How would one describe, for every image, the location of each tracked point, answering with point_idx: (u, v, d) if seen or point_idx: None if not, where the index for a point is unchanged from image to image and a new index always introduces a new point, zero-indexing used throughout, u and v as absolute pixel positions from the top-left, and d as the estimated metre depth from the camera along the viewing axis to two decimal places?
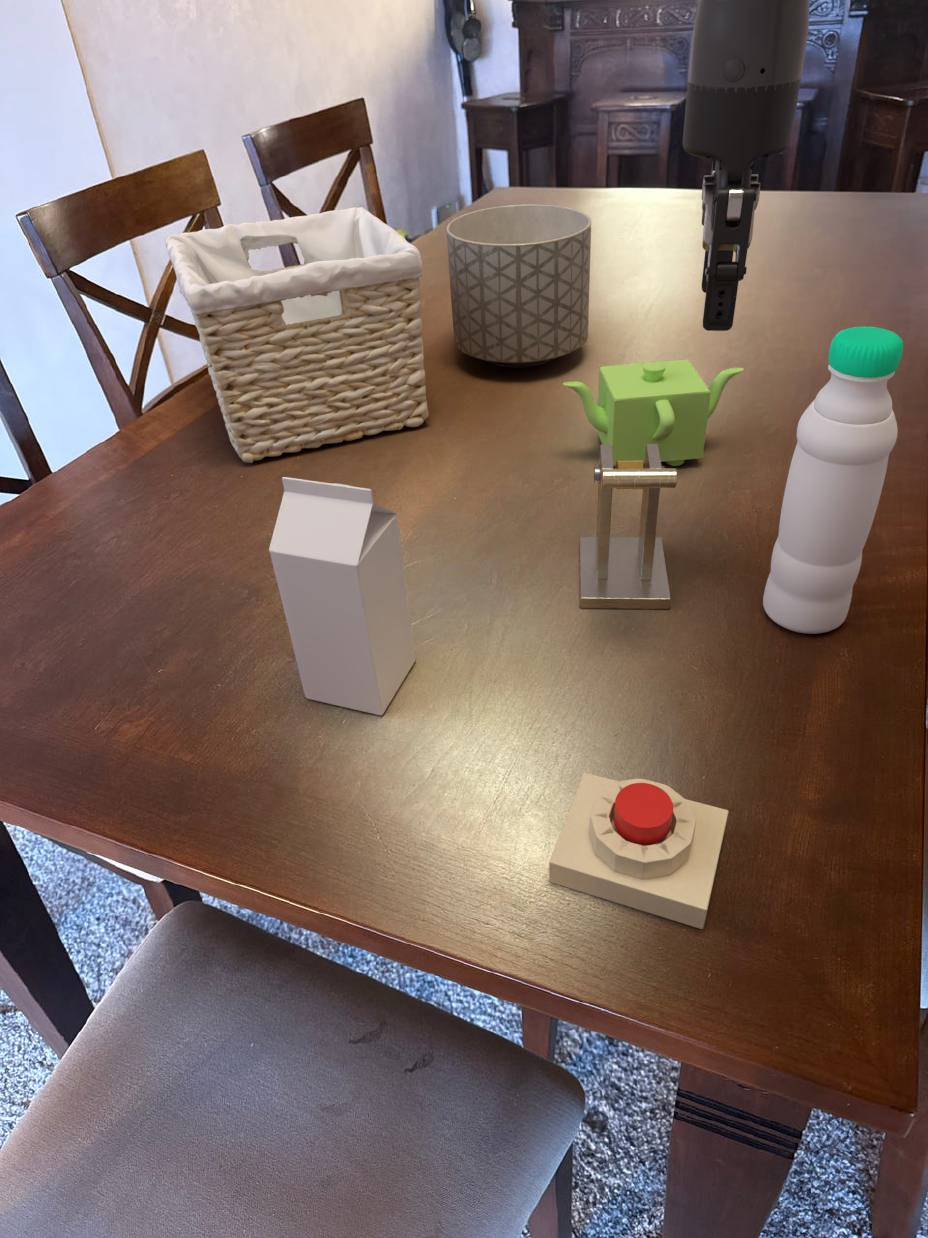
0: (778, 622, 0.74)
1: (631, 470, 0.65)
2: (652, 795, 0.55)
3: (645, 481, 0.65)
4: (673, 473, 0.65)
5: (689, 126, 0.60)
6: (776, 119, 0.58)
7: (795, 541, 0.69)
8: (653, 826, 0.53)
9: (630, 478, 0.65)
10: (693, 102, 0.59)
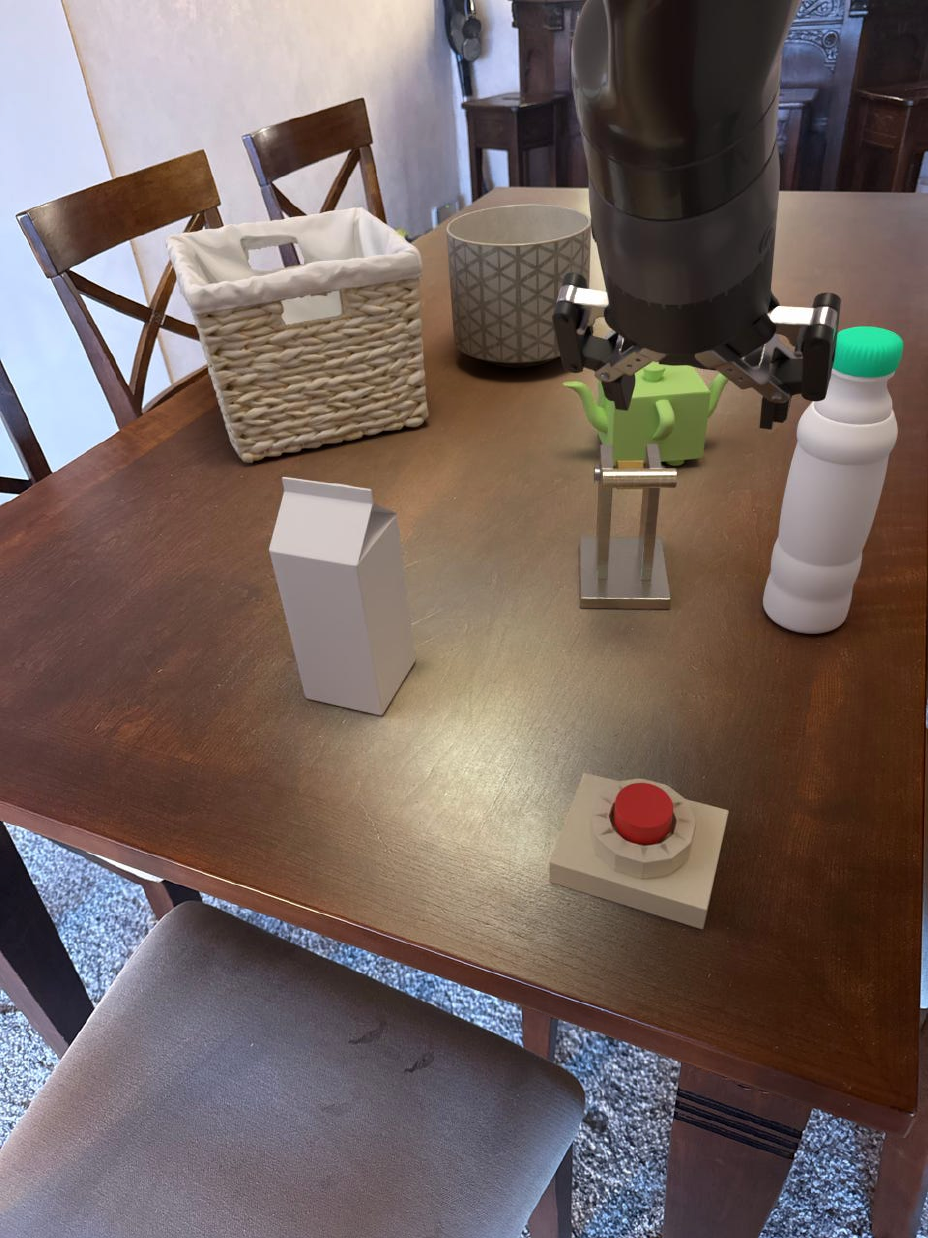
0: (778, 622, 0.74)
1: (631, 470, 0.65)
2: (652, 795, 0.55)
3: (645, 481, 0.65)
4: (673, 473, 0.65)
5: (705, 334, 0.38)
6: None
7: (795, 541, 0.69)
8: (653, 826, 0.53)
9: (630, 478, 0.65)
10: (710, 313, 0.37)
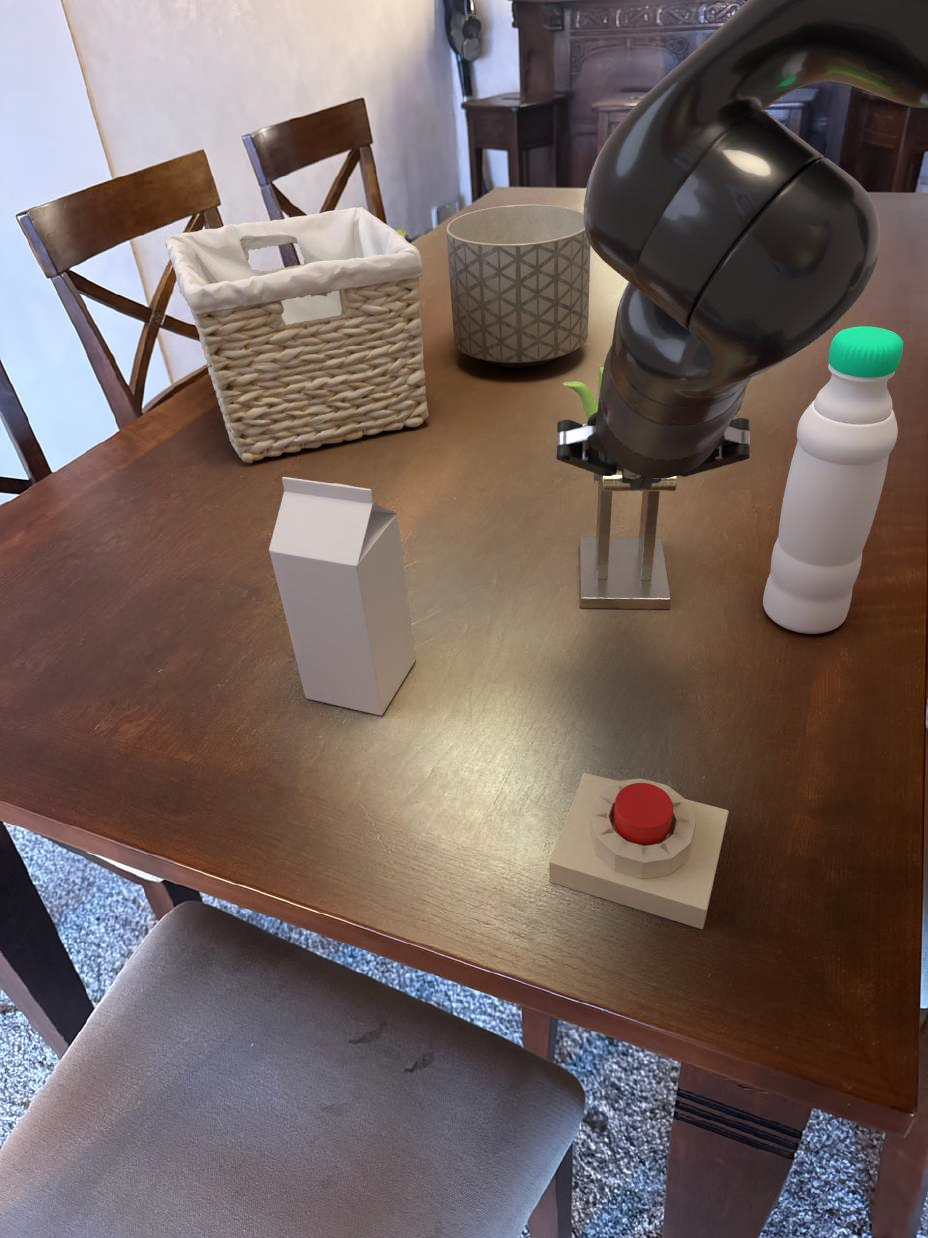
0: (778, 622, 0.74)
1: None
2: (652, 795, 0.55)
3: None
4: None
5: (691, 466, 0.50)
6: None
7: (795, 541, 0.69)
8: (653, 826, 0.53)
9: None
10: (698, 456, 0.49)
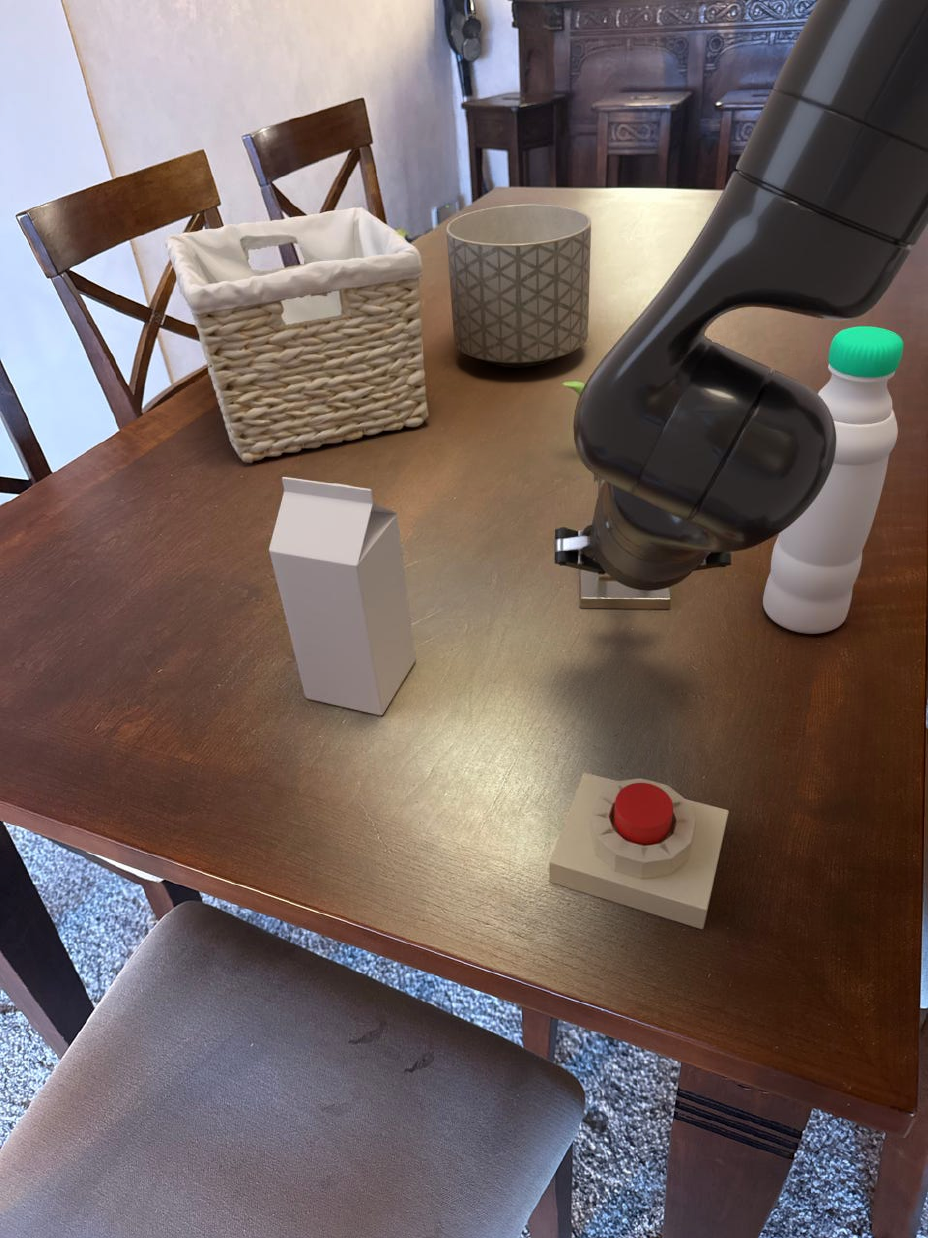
0: (778, 622, 0.74)
1: None
2: (652, 795, 0.55)
3: None
4: None
5: (676, 582, 0.55)
6: None
7: (795, 541, 0.69)
8: (653, 826, 0.53)
9: None
10: (683, 577, 0.54)
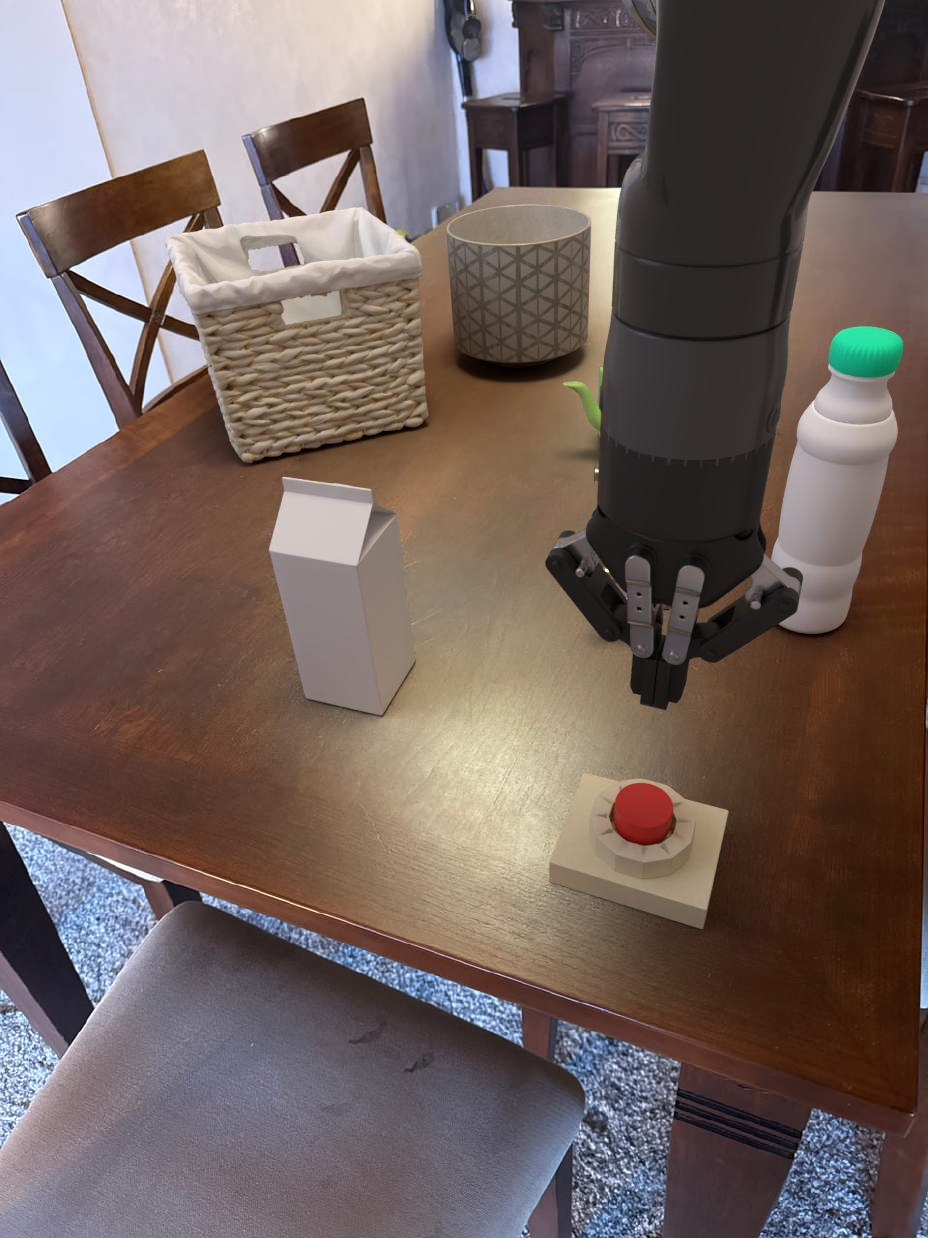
0: None
1: None
2: (652, 795, 0.55)
3: None
4: None
5: (704, 513, 0.36)
6: None
7: (795, 541, 0.69)
8: (653, 826, 0.53)
9: None
10: (713, 482, 0.36)
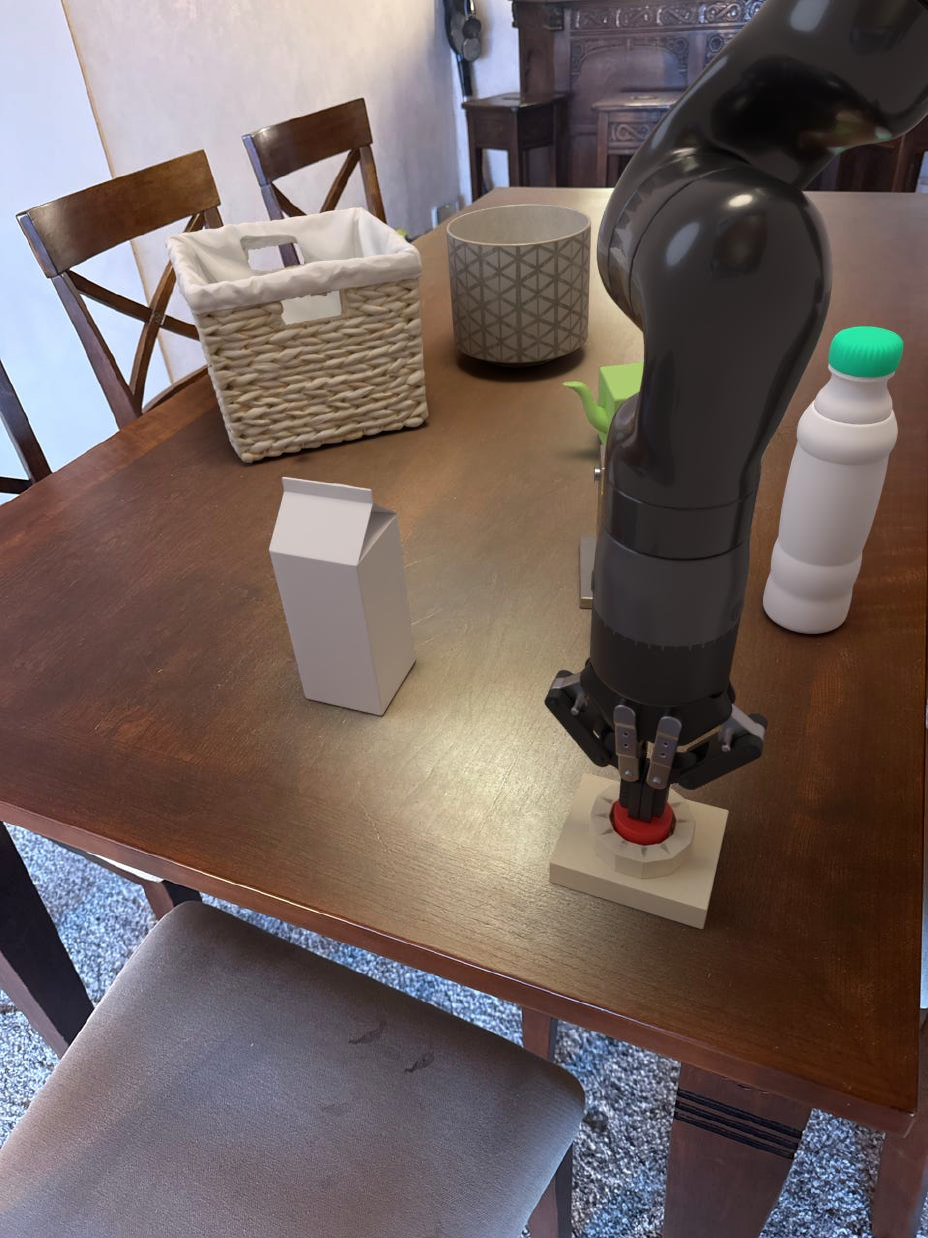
0: (778, 622, 0.74)
1: None
2: None
3: None
4: None
5: (679, 685, 0.43)
6: None
7: (795, 541, 0.69)
8: (652, 832, 0.54)
9: None
10: (687, 662, 0.42)
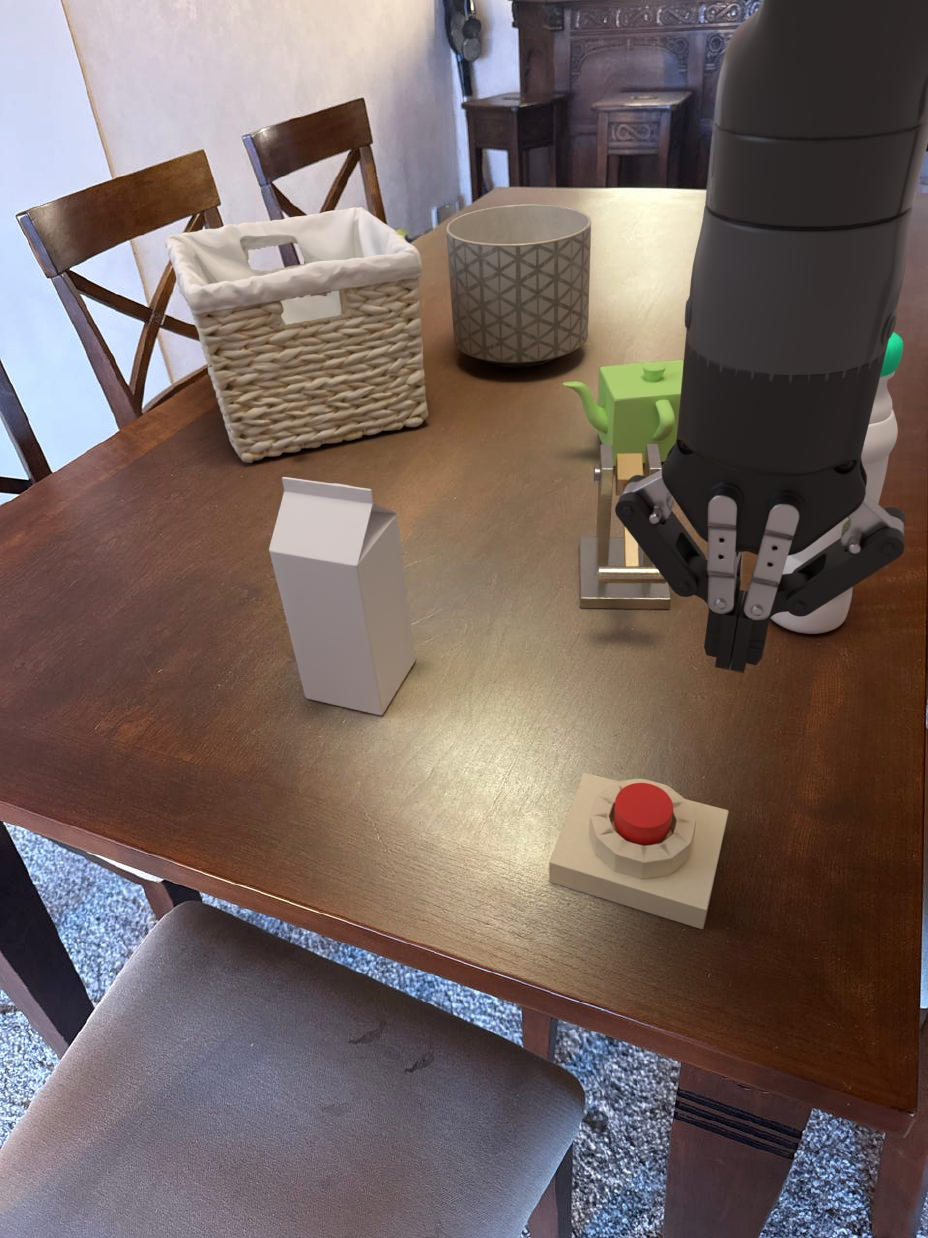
0: (778, 622, 0.74)
1: (625, 575, 0.70)
2: (652, 795, 0.55)
3: (637, 582, 0.71)
4: (663, 578, 0.70)
5: (808, 438, 0.33)
6: None
7: None
8: (653, 826, 0.53)
9: (623, 581, 0.71)
10: (821, 401, 0.32)
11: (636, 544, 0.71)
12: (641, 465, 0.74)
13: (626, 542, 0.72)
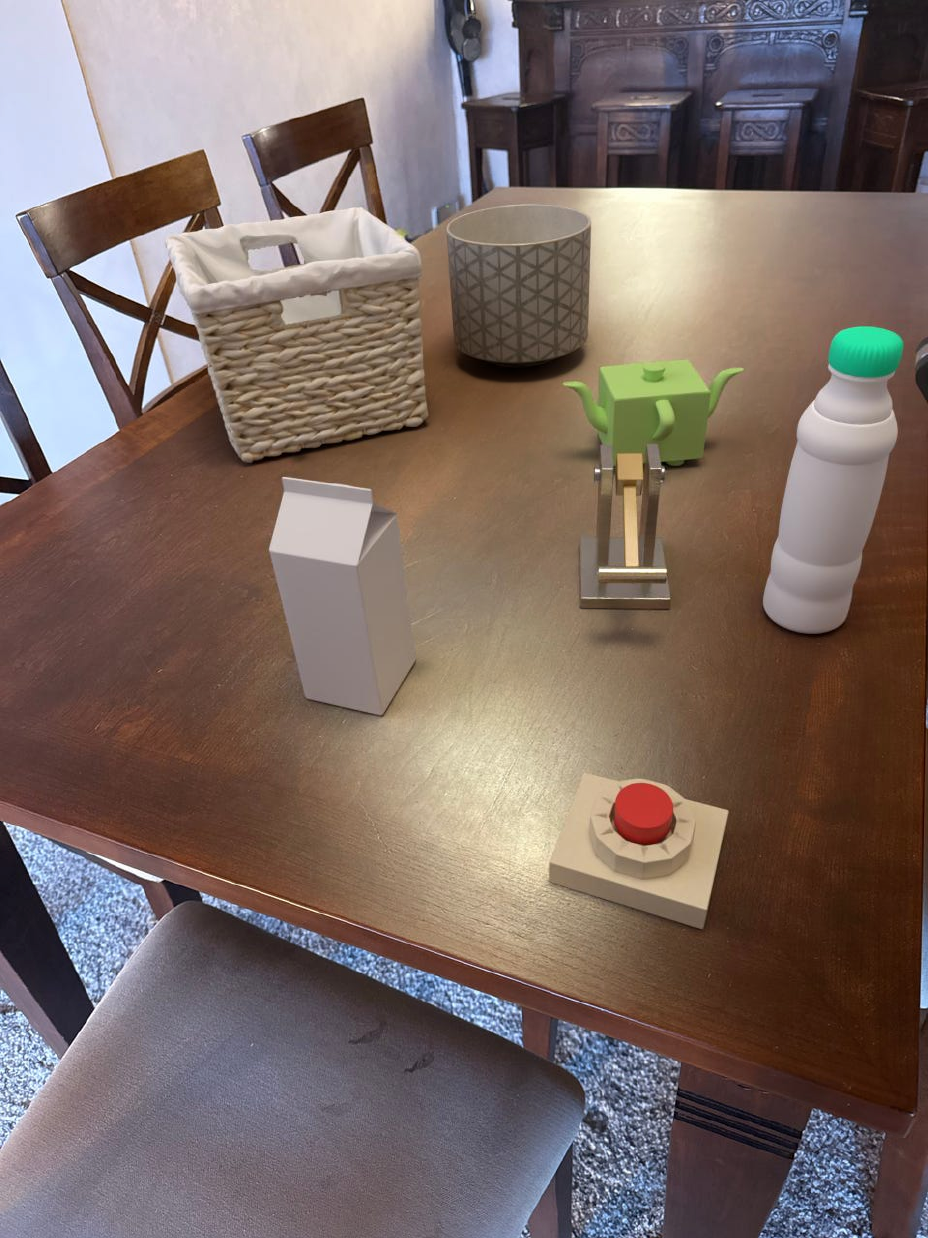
0: (778, 622, 0.74)
1: (625, 575, 0.70)
2: (652, 795, 0.55)
3: (637, 582, 0.71)
4: (663, 578, 0.70)
5: None
6: None
7: (795, 541, 0.69)
8: (653, 826, 0.53)
9: (623, 581, 0.71)
10: None
11: (636, 544, 0.71)
12: (641, 465, 0.74)
13: (626, 542, 0.72)
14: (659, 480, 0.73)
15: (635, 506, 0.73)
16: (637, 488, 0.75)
